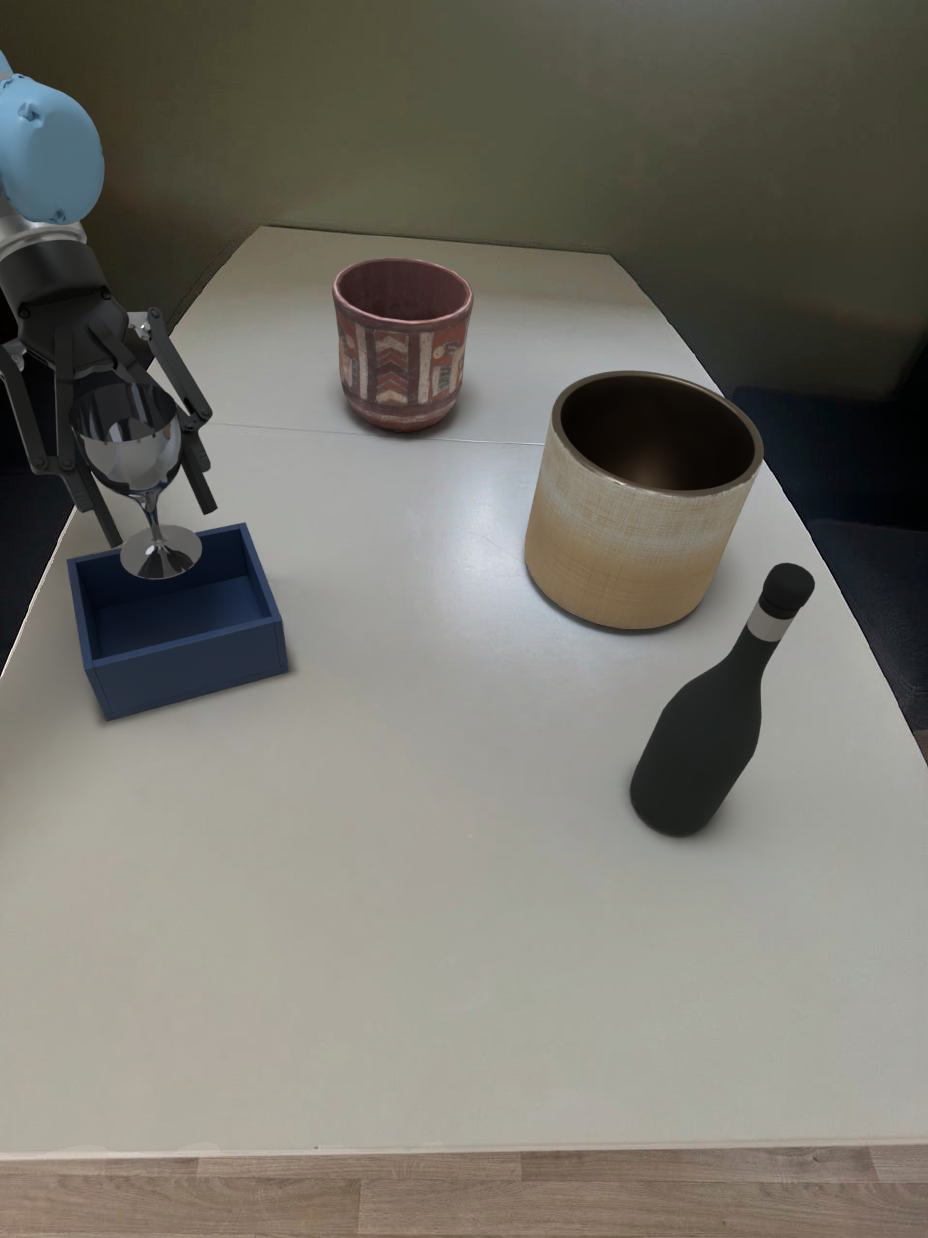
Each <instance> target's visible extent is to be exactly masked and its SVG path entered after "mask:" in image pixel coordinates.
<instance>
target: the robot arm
mask: <svg viewBox="0 0 928 1238" xmlns="http://www.w3.org/2000/svg"><path fill="white" fill-rule="evenodd" d="M105 166H106V165H105V158H104V156H103V146H102V145H101V138H100V134H99V132H98V130H97V128H96V126H95V124H94V122H93V119H92V118H91V117H90V115H89V113H87V111H86V110H85V109H84V107H82V105H81V104H80V103H79V102H77V100H75V99H74V98H72V97H71V96H69V95H68V94H66V93H65V92H62V90H58V89H56V88H53V87H50V86H48V85H45V84H42V83H40V82H38V81H35V80H34V79H33V78H31V77H30V76H26V75H23V74H21V73H14V71H13V69H12V68H11V66H10V64H9V61H8V60H7V58H6V56H5V55H4V53H3V51H2V50H1V49H0V289H1V290H2V292H3V295H4V297H5V299H6V301H7V304H8V305H9V308H10V310H11V312H12V314H13V316H14V318H15V321H16V324H17V326H18V330H17V337H15V338H12V339H11V340H9V341H7V342H5V343H2V344H0V379H1V381H2V382H3V383H4V386H5V389H6V393H7V396H8V399H9V402H10V405H11V408H12V409H11V410H12V412H13V415H14V419H15V422H16V425H17V428H18V431H19V434H20V439H21V441H22V445H23V447H24V450H25V454H26V457H27V461H28V463H29V468H30V470H31V471H32V473H33V474H34V475H37V476H43V475H53V476H54V475H55V476H58V477H60V478H61V479H62V481H63V482H64V485H65V487H66V488H67V491H68V493H69V495H70V497H71V499H72V501H73V503H74V505H75V508H76V509H77V510H78V512H80V513H81V514H85V513H88V512H90V511H92V512H93V513H94V515H95V517H96V519H97V521H98V523H99V526H100V528H101V530H102V532H103V534H104V536H105V538H106V540H107V543H108V545H109V547H110V550H113V549H116V548H117V547H118V548H119V547H121V546H122V545H123V544H124V540H123V537H122V535H121V533H120V532H119V529H118V528H117V524H116V523H115V520H114V519H113V516H112V514H111V512H110V510H109V507H108V505H107V503H106V501H105V499H104V496H103V495H102V493H101V490H100V488H99V486H98V484H97V481H96V480H95V479H96V478H94V477H95V476H94V475H93V473H92V472H91V470H90V469H89V467H88V466H87V465H86V466H82V467H79V468H78V465H77V458H76V457H77V456H76V455H77V454H76V441H75V438H74V436H73V433H72V430H71V427H70V424H69V420H68V414H69V410H70V408H71V407H72V405H73V404H74V403H75V401H74V400H75V399H74V381H75V380H78V379H83V378H85V377H86V376H88V375H90V374H91V373H104V372H105V373H106V372H110V371H113V373H115V374H116V375H117V377H119V378H120V379H122V380H123V381H124V382H125V383H143V384H148V385H152V386H155V387H158V388H160V389H162V390H164V391H166V390H165V389H164V388H163V387H162V386H161V385H160V384H159V383H158V382H157V380H155V379H154V377H153V376H151V374H150V373H149V372H148V371H147V370H146V369H145V368H144V367H143V366H142V365H141V364H140V363H139V361H138V359H137V357H136V356H135V354H134V353H133V352H132V351H130V349H129V348H128V347H127V346H126V345H125V342H126V337H127V333H128V329H132V330H134V331H135V332H136V333H137V336H138V337H139V338H140V339H141V340H143V341H147V344H148V346H149V349H150V351H151V353H152V354H153V356H154V359H156V361H157V363H158V364H159V366H160V368H161V369H162V372H163V373H164V374H165V376H166V378H167V380H168V381H169V383H170V384H171V386H172V387H173V390H174V391H175V392H176V394H177V396H178V398H179V399H180V401H181V402H182V405H183V406H184V408H185V410H186V411H187V412H185V410H184V409H183V408H182V407H181V406H180V405H179V404H178V403H177V402H176V405H177V410H178V414H179V419H180V425H181V431H182V460H181V467H182V470H183V472H184V475H185V476H186V479H187V481H188V483H189V486H190V488H191V490H192V493H193V496H195V499H196V501H197V503H198V506H199V509H200V510H201V512H202V515H203V516H206V515H209V514H211V513H213V512H215V511H216V510H218V509H219V507H218V504H217V503H216V500H215V498H214V495H213V493H212V491H211V488H210V486H209V484H208V482H207V479H206V477H205V475H204V473H207V472H209V471H210V470H211V469H212V463H211V460H210V458H209V456H208V453H207V451H206V449H205V447H204V444H203V441H202V440H201V437H200V434H199V431H200V429H201V428H202V427H204V426H205V425H206V424H207V423H208V422H209V421H210V420H211V418H212V417H213V415H214V412H213V409H212V408H211V406H210V403H209V402H208V401H207V399H206V397H205V396H204V394H203V392H202V390H201V388H200V387H199V385H198V383H197V382H196V381H195V379H194V377H193V375H192V374H191V372H190V370H189V369H188V367H187V365H186V364H185V361H184V360H183V358H182V357H181V355H180V353H179V352H178V350H177V348H176V347H175V345H174V343H173V342H172V340H171V338H170V337H169V335H168V333H167V327H166V323H165V318H164V313H163V311H162V309H160V307H158V306H150V307H149V308H148V309H147V311H127V310H126V309H125V308H124V307H123V306H122V305H121V304H120V303H119V302H118V301H117V300H116V299H115V297H114V295H113V293H112V290H111V288H110V285H109V284H108V282H107V279H106V277H105V275H104V273H103V271H102V268H101V266H100V263H99V261H98V259H97V257H96V254H95V252H94V250H93V248H91V247H90V246H89V245H87V241H88V236H87V234H86V232H85V230H84V227H83V226H82V223H81V220H83V219H85V217H86V216H87V215H89V213H91V211H92V210H93V208H94V207H95V205H96V204H97V202H98V200H99V198H100V195H101V193H102V190H103V185H104V180H105ZM25 353H27V354H29V355H31V357H33V358H35V359H36V360H38V361H39V362H41V363H42V364H44V365H46V366H47V367H49V368H50V369H52V370H53V379H54V380H53V381H54V398H55V399H54V403H55V429H56V455H47V453H46V450H45V446H44V442H43V439H42V435H41V432H40V430H39V429H40V428H39V426H38V422H37V419H36V416H35V413H34V409H33V406H32V403H31V400H30V396H29V393H28V390H27V386H26V383H25V380H24V377H23V375H22V371H23V370H24V368H25V359H24V357H23V356H24V355H25ZM187 413H188V414H187Z"/></svg>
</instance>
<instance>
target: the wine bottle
mask: <svg viewBox="0 0 928 1238" xmlns="http://www.w3.org/2000/svg"><path fill="white" fill-rule="evenodd" d="M815 588H816V581H815V578H814V576H813V575H812V573H811V572H810V571H809V570H807V569H806V568H805V567H803V566H801V565H799V564H797V563H791V562H780V563H777V564H775V565H774V566H773V567H772V568H771V569H770V571H768V574H767V576H766V578H765V579H764V582H763V584H762V591H761V593H760V594H759V597H758V598H757V601H756V602H755V605H754V606H753V608H752V610H751V612H750V614H749V616H748V618H747V620H746V623H745V624H744V626H743V627H742V630H741V632H740V634H739V635H738V638H736V639H737V640H736V642H735V643H734V645H733V646H732V648H731V650H730V651H729V653H728V654H727V655H726V656H725V657H724V658H723V659H722V660H721V661H719V662H718V663H717V664H716V665H714V666H712V667H711V668H709V669H707V670H706V671H704V672H702V673H700V674H699V675H697V676H696V677H694V678H693V679H690V680H689V681H688V682H686V683H685V684H684V685H683V686H682V687H681V688H680V689H679V690H678V691H677V692H676V693H675V694H674V695H673V696H672V697H671V699H670V700H669V701H668V702H667V704H666V705H665V706H664V707H663V709H662V711H661V713H660V714H659V717H658V720H657V722H656V723H655V726H654V728H653V730H652V732H651V734H650V736H649V739H648V741H647V743H646V745H645V746H644V749H643V751H642V754H641V755H640V757H639V758H640V759H639V760H638V762H637V764H636V766H635V768H634V772H633V775H632V778H631V782H630V792H631V799H632V801H633V803H634V806H635V807H636V810H637V811H638V813H639V814H640V815H641V816H642V817H643V818H644V819H645V820H646V821H647V822H648V823H649V824H650V825H652V826H654V827H656V828H657V829H659V830H661V831H663V832H666V833H672V834H676V835H681V834H691V833H695V832H696V831H698V830H701V829H702V828H704V827H705V826H707V825H708V823H710V821H711V819H712V818H713V817H714V815H715V814H716V812H717V811H718V810H719V808H720V807H721V806H722V804H723V803H724V801H725V799H726V798H727V796H728V795H729V793H731V790H732V789H733V787H734V786H735V784H736V782H737V781H738V780H739V778H740V777H741V775H742V773H743V772H744V770H745V769H746V767H747V766H748V765H749V763H750V761H751V760H752V758H753V757H754V755H755V752H756V750H757V746H758V743H759V739H760V733H761V727H762V717H763V716H762V714H763V712H762V711H763V710H762V679H763V676H764V674H765V673H764V672H765V670H766V667H767V665H768V663H769V662H770V659H771V658H772V655H773V654H774V653H775V651H776V649H777V648H778V646H779V644H780V642H781V641H782V639H783V638H784V636H785V635H786V633H787V631H788V630H789V628H790V626H791V624H792V622H793V621H794V619H795V618H796V616H797V615H798V613H799V611H800V609H801V608H804V606H805V605H806V604H807V603H808V601H809V600H810V598H811V597H812V595H813V593H814V591H815Z"/></svg>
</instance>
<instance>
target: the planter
mask: <svg viewBox="0 0 928 1238" xmlns="http://www.w3.org/2000/svg"><path fill="white" fill-rule="evenodd" d="M764 452H765V449H764V443H763V439H762V436H761V434H760V432H759V430H758V428H757V426H756V425H755V424H754V422H753V421H752V419H750V418H749V416H748V415H746V413H745V412H744V411H742V409H740V407H738V406H737V405H735V404H734V403H733V402H732V401H730V400H729V399H728V398H726V397H724V396H722V394H721V395H720V394H719V393H718V392H715V391H713V390H712V389H710V388H708V387H706V386H703V385H701V384H698V383H696V382H693V381H691V380H688V379H685V378H682V377H678V376H675V375H670V374H665V373H661V372H655V371H646V370H631V369H630V370H629V369H628V370H627V369H626V370H625V369H624V370H612V371H611V370H610V371H604V372H599V373H595V374H591V375H588V376H585V377H583V378H580V379H578V380H575V381H574V382H573V383H571V384H569V385H568V386H567V387H565V388H564V389H563V390H562V391H561V392H560V393H559V395H557V398H556V399H555V401H554V402H553V406H552V409H551V413H550V417H549V422H548V427H547V433H546V437H545V442H544V447H543V452H542V456H541V462H540V465H539V471H538V476H537V479H536V483H535V489H534V494H533V498H532V503H531V507H530V512H529V516H528V521H527V526H526V531H525V536H524V558H525V559H524V560H525V563H526V566H527V569H528V572H529V574H530V576H531V578H532V579H533V581H534V582H535V584H536V586H538V587H539V589H540V590H541V591H542V592H543V593H544V595H546V596H547V597H548V598H549V599H550V600H551V601H553V602H554V603H555V604H556V605H558V606H559V607H561V609H564V610H565V611H567V612H569V613H570V614H573V615H574V616H576V617H579V618H581V619H583V620H585V621H588V622H591V623H593V624H597V625H600V626H605V627H610V628H616V629H622V630H623V629H624V630H645V629H647V630H648V629H653V628H654V629H655V628H658V627H659V628H660V627H663V626H667V625H670V624H672V623H675V622H676V621H679V620H681V619H683V618H684V617H686V616H687V615H689V614H690V613H691V612H692V611H693V610H694V609H696V608H697V606H698V605H699V603H700V602H701V601H702V600H703V598H704V596H705V595H706V593H707V591H708V589H709V587H710V585H711V582H712V580H713V578H714V576H715V574H716V572H717V569H718V566H719V564H720V561H721V560H722V558H723V555H724V552H725V550H726V547H727V545H728V543H729V540H730V538H731V536H732V533H733V531H734V529H735V526H736V524H737V522H738V520H739V517H740V515H741V513H742V510H743V508H744V506H745V503H746V502H747V499H748V497H749V494H750V493H751V490H752V488H753V485H754V483H755V481H756V479H757V476H758V474H759V471H760V470H761V468H762V465H763V461H764V457H765V456H764V455H765V453H764Z"/></svg>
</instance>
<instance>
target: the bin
mask: <svg viewBox="0 0 928 1238" xmlns="http://www.w3.org/2000/svg"><path fill="white" fill-rule="evenodd" d="M194 533H195V534H196V535H197V536H198V538H199V539H200V541H201V544H202V553H201V556H200V558H199V559H198V561H197V562H196V563H195V564H194V565H193V566H192V567H191V568H190V569H189V570H187V571H185V572H183V573H181V574H179V575H177V576H174V577H170V578H165V579H145V578H140V577H138V576H135V575H133V574H131V573H129V572H128V571H127V570H126V569H125V568H124V566H123V565H122V563H121V560H120V553H121V549H122V547H118V548H112V549H109V550H104V551H99V552H93V553H89V554H84V555H80V556H75V557H70V558H66V559H65V561H66V568H67V574H68V580H69V586H70V592H71V599H72V604H73V610H74V611H73V612H74V617H75V622H76V629H77V636H78V641H79V642H78V643H79V648H80V653H81V660H82V666H83V671H84V674H85V675H86V677H87V681H88V682H89V684H90V687H91V688H92V692H93V693H94V696H95V698H96V700H97V703H98V705H99V707H100V709H101V711H102V714H103V717H104V719H105V720H106V722H108V721H112V720H117V719H120V718H124V717H128V716H131V715H135V714H139V713H143V712H146V711H149V710H153V709H157V708H160V707H163V706H167V705H171V704H174V703H175V704H176V703H178V702H182V701H186V700H191V699H193V698H197V697H200V696H205V695H208V694H211V693H216V692H219V691H222V690H227V689H229V688H234V687H237V686H241V685H244V684H248V683H252V682H256V681H259V680H263V679H266V678H270V677H273V676H277V675H281V674H285V673H288V672H290V670H289V662H288V654H287V646H286V639H285V632H284V623H283V618H282V615H281V613H280V610H279V607H278V605H277V603H276V600H275V597H274V594H273V591H272V589H271V586H270V584H269V581H268V578H267V575H266V573H265V571H264V567H263V565H262V562H261V560H260V557H259V554H258V551H257V549H256V547H255V544H254V540H253V539H252V535H251V533H250V530H249V528H248V524H247V522H245V521H244V522H239V523H235V524H230V525H225V526H219V527H214V528H210V529H205V530H200V531H195V532H194Z"/></svg>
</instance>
